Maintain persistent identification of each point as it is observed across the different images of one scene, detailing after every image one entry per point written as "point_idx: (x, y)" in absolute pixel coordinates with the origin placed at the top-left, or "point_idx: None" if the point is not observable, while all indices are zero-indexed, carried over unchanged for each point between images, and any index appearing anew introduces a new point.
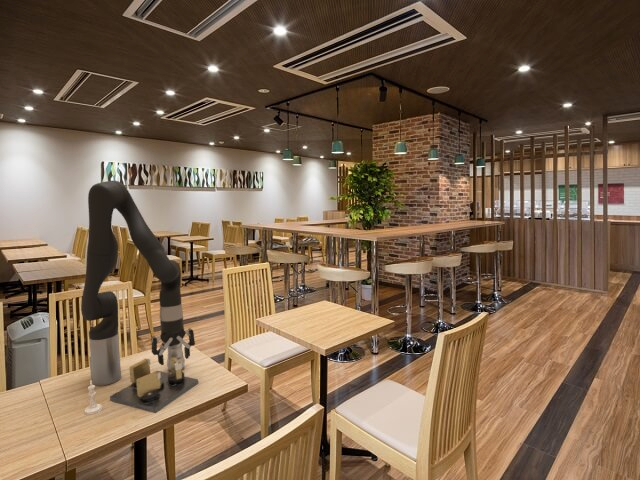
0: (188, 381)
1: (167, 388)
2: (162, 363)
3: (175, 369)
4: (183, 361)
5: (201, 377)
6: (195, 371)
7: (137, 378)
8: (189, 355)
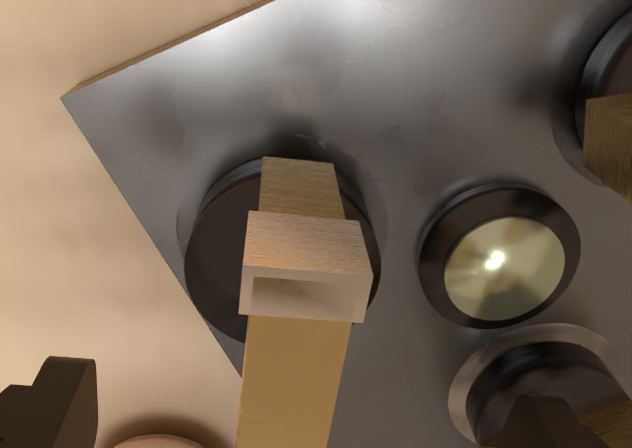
0: (181, 132)
1: (429, 151)
2: (564, 414)
3: (359, 232)
4: None
5: (5, 186)
6: (27, 337)
7: (627, 426)
8: (2, 402)
